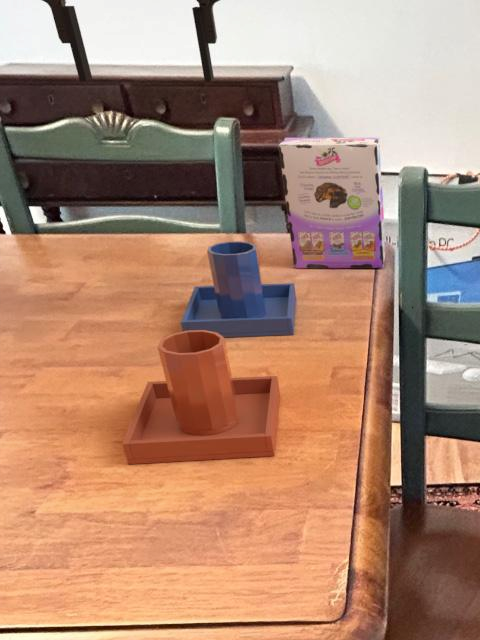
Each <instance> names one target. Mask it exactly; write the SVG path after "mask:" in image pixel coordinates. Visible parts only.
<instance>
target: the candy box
mask: <svg viewBox="0 0 480 640" xmlns="http://www.w3.org/2000/svg"><path fill="white" fill-rule="evenodd" d="M380 146H381V145H380V138H379V137H284V139H282V140H281V142H280V143H279V144H278V155H279V161H280V167H281V175H282V184H283V191H284V199H285V206H286V213H287V214H286V215H287V222H288V228H289V237H290V244H291V253H292V262H293V264H292V265H293V268H294V269H379V268H380V269H382V268H383V269H384V266H385V262H386V242H385V212H384V195H383V184H382V183H383V181H382V165H381V149H380V148H381V147H380Z"/></svg>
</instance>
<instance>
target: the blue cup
mask: <svg viewBox="0 0 480 640" xmlns="http://www.w3.org/2000/svg"><path fill="white" fill-rule="evenodd" d="M206 253H207V257H208V263H209V267H210V272H211V276H212V283H213V286H214V289H215V294H216V299H217V304H218V309H219V312H220V316H221V318H223V319H235V318H261V317H263V316H264V315H265V314H266V308H265V307H266V305H265V298H264V292H263V285H262V284H263V279H262V272H261V267H260V260H259V253H258V246H257V245H256V244H255V243H252V242H249V241H241V240H240V241H239V240H238V241H237V240H236V241H223V242H218V243H214V244H212V245H210V246H208V247H207V251H206Z"/></svg>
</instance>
